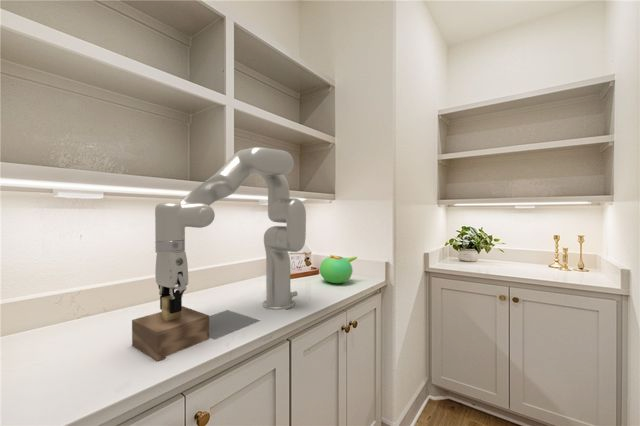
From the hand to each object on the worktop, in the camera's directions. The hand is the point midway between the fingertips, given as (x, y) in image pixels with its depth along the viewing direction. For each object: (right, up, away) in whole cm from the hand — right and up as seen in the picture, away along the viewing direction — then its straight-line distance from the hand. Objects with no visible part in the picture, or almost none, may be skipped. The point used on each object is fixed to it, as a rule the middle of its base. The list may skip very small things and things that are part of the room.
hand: (170, 309), depth 84 cm
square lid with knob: (0, -10, 0) cm, 10 cm away
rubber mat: (+10, -9, +14) cm, 20 cm away
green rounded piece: (+51, -9, +70) cm, 88 cm away
